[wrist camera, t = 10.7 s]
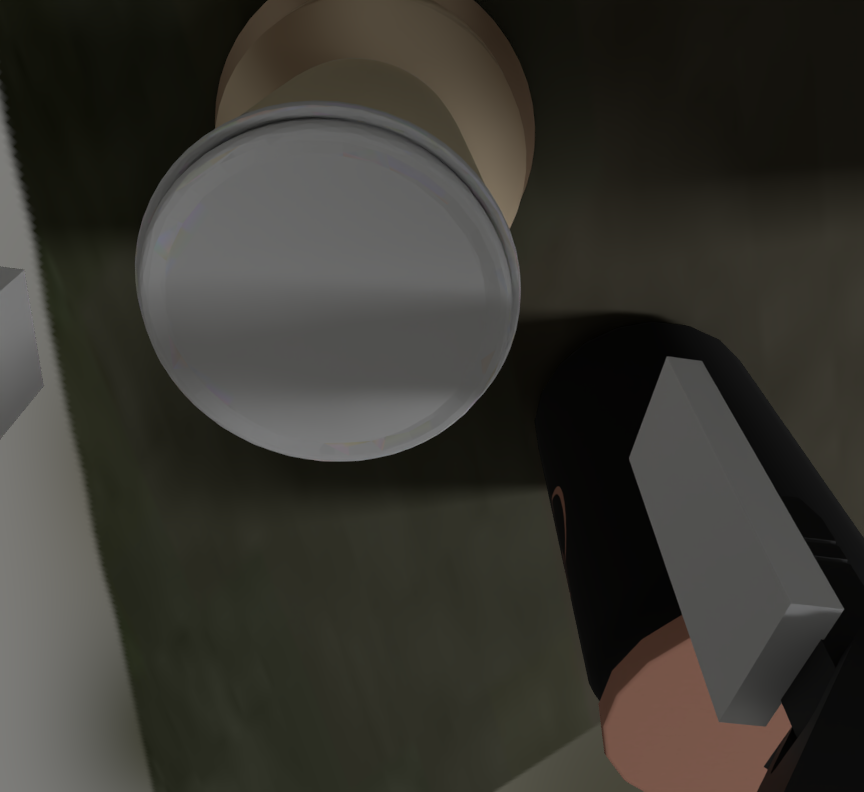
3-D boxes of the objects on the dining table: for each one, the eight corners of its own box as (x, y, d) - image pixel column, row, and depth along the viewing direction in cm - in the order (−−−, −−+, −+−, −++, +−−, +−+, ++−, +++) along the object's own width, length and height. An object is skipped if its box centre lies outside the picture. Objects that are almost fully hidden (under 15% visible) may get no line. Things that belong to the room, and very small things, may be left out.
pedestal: (470, -103, 26) (477, -104, 23) (570, 225, 33) (587, 261, 30) (155, 46, 29) (120, 64, 26) (307, 322, 36) (295, 365, 32)
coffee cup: (220, 23, 25) (85, 102, 15) (498, 36, 25) (549, 122, 15) (246, 280, 30) (157, 467, 20) (477, 288, 30) (504, 477, 20)
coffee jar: (490, 389, 38) (535, 707, 23) (679, 268, 34) (880, 550, 19) (599, 512, 43) (695, 844, 28) (775, 417, 39) (997, 738, 24)
